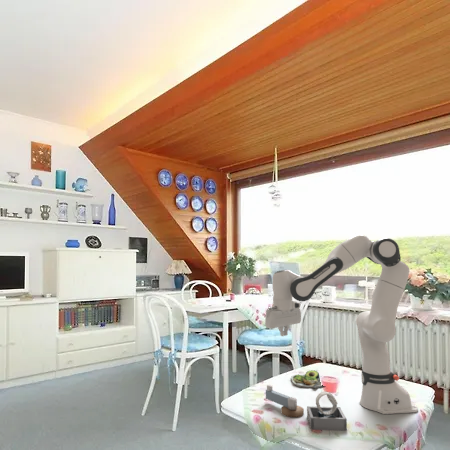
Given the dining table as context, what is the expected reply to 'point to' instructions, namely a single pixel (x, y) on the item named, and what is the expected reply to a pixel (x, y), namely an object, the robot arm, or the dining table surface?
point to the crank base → (292, 412)
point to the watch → (329, 412)
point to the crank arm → (281, 398)
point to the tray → (326, 419)
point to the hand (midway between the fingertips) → (284, 335)
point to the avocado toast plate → (307, 379)
